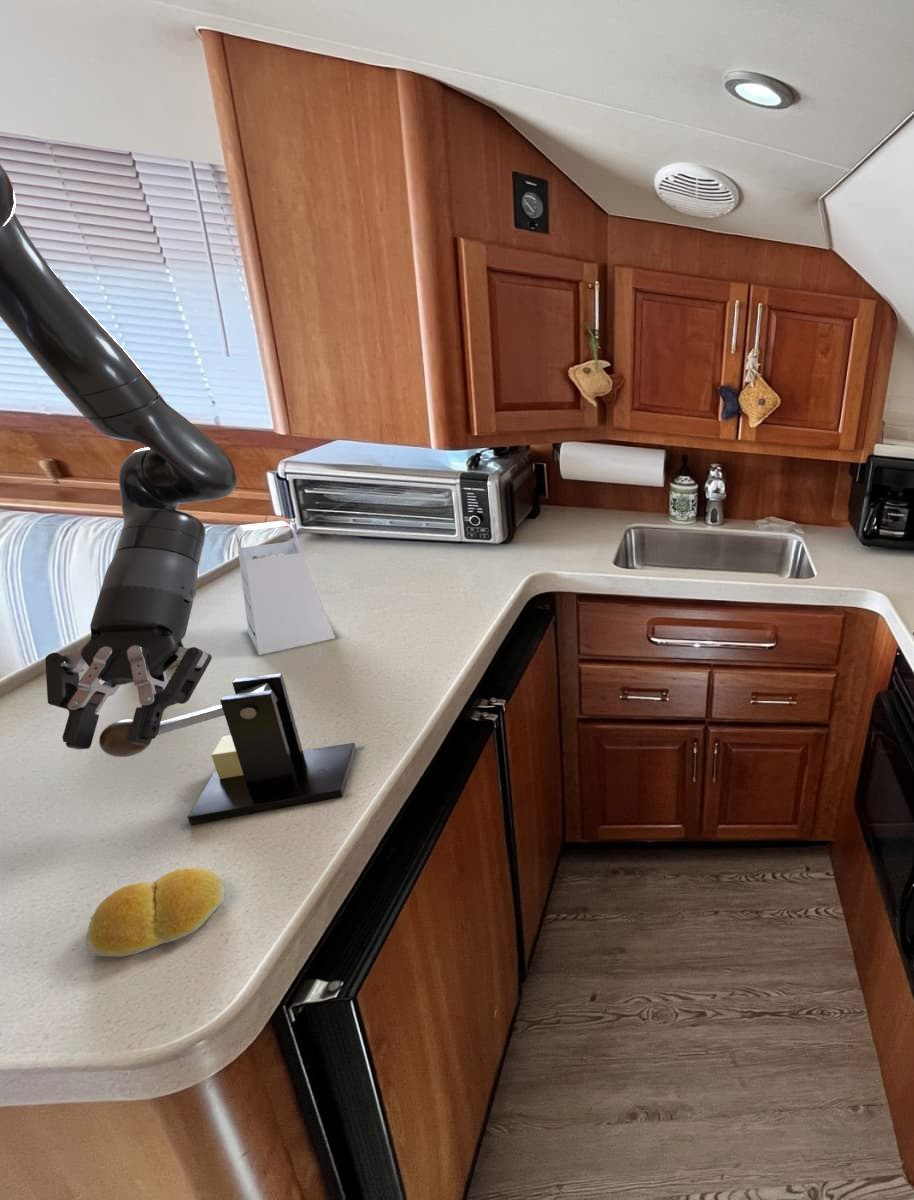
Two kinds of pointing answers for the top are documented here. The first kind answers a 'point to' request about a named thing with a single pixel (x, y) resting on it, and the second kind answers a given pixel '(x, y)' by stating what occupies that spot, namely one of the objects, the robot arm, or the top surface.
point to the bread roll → (154, 912)
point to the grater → (280, 595)
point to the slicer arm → (118, 732)
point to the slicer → (270, 758)
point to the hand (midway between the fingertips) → (109, 745)
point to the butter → (226, 759)
